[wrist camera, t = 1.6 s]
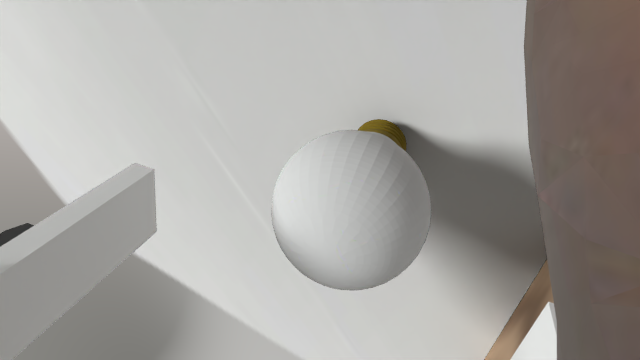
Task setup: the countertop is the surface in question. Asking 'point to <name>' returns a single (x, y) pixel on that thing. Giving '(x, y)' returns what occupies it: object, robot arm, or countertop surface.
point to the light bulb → (352, 207)
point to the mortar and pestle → (588, 168)
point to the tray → (523, 317)
